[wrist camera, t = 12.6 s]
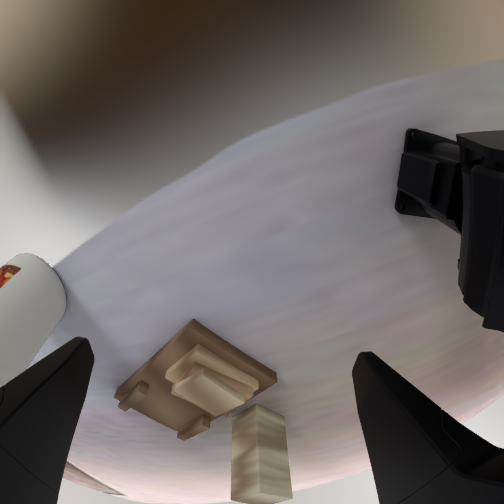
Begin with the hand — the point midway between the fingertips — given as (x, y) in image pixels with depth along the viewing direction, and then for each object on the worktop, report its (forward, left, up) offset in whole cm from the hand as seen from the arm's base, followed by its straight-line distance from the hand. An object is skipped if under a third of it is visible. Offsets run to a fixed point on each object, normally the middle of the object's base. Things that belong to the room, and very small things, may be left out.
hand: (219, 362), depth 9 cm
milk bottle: (+19, +7, -13) cm, 24 cm away
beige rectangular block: (-4, +24, -13) cm, 27 cm away
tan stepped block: (+4, +18, -13) cm, 22 cm away
